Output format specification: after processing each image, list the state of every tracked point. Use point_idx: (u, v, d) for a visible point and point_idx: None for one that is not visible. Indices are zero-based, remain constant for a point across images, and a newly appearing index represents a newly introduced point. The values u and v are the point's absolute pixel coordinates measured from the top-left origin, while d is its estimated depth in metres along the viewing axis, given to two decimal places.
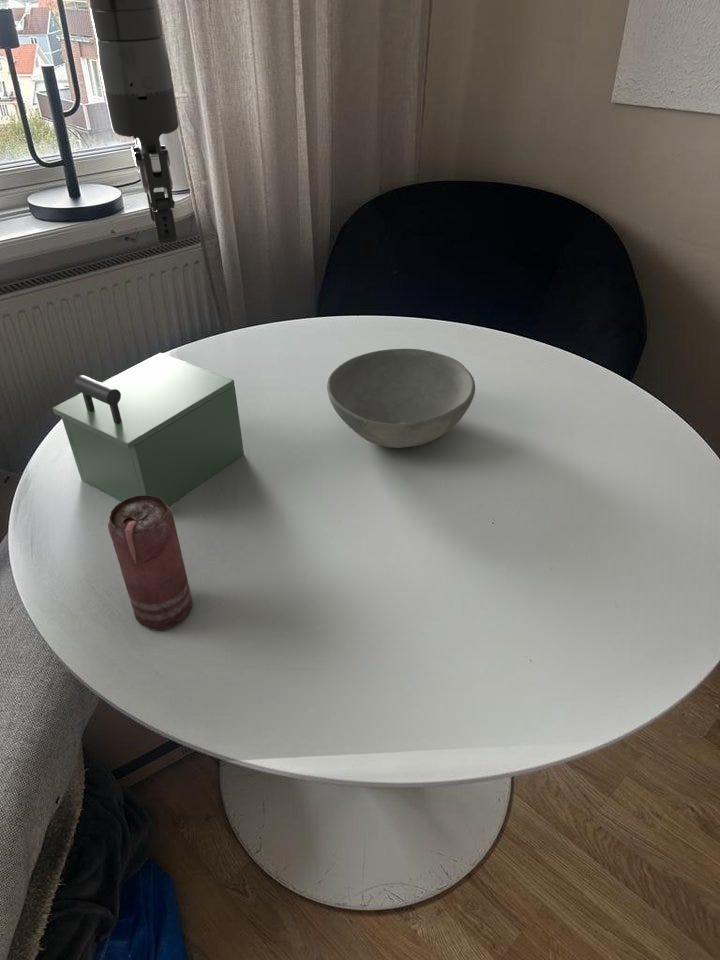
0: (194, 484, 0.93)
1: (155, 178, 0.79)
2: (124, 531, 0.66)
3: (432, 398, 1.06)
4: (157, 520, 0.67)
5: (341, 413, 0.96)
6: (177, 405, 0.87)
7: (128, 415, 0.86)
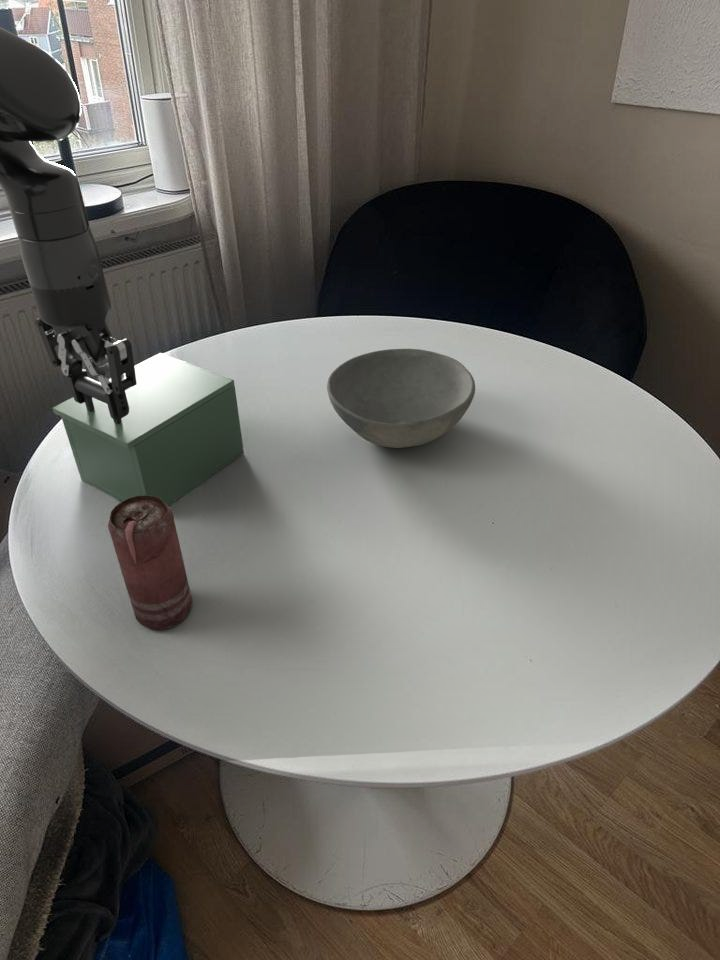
0: (194, 484, 0.93)
1: (122, 366, 0.77)
2: (124, 531, 0.66)
3: (432, 398, 1.06)
4: (157, 520, 0.67)
5: (341, 413, 0.96)
6: (177, 405, 0.87)
7: (128, 415, 0.86)
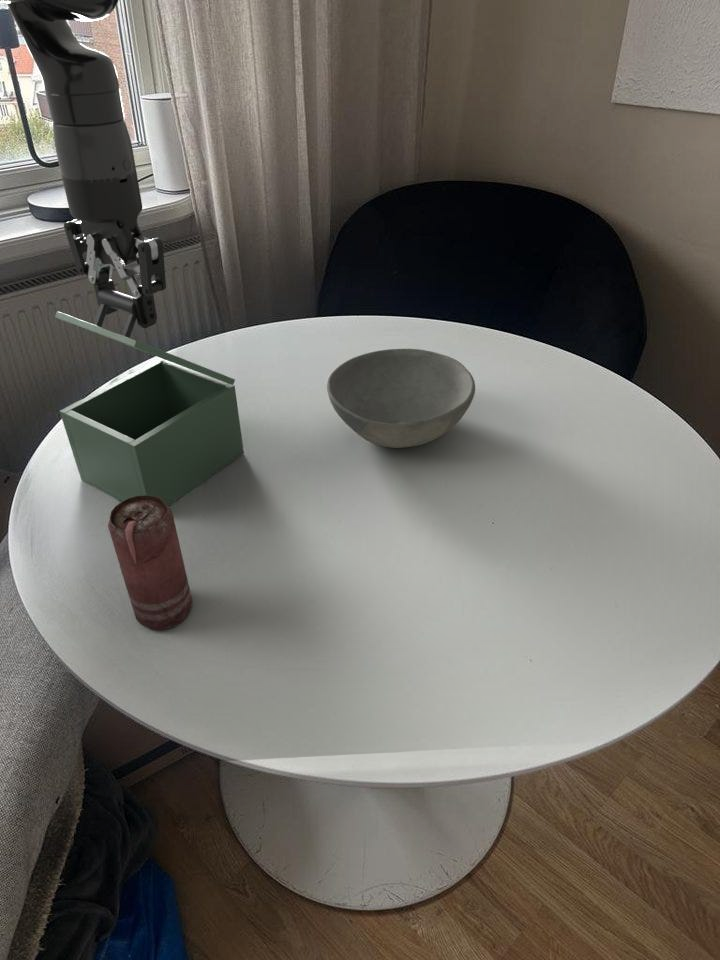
0: (194, 484, 0.93)
1: (153, 266, 0.76)
2: (124, 531, 0.66)
3: (432, 398, 1.06)
4: (157, 520, 0.67)
5: (341, 413, 0.96)
6: None
7: None
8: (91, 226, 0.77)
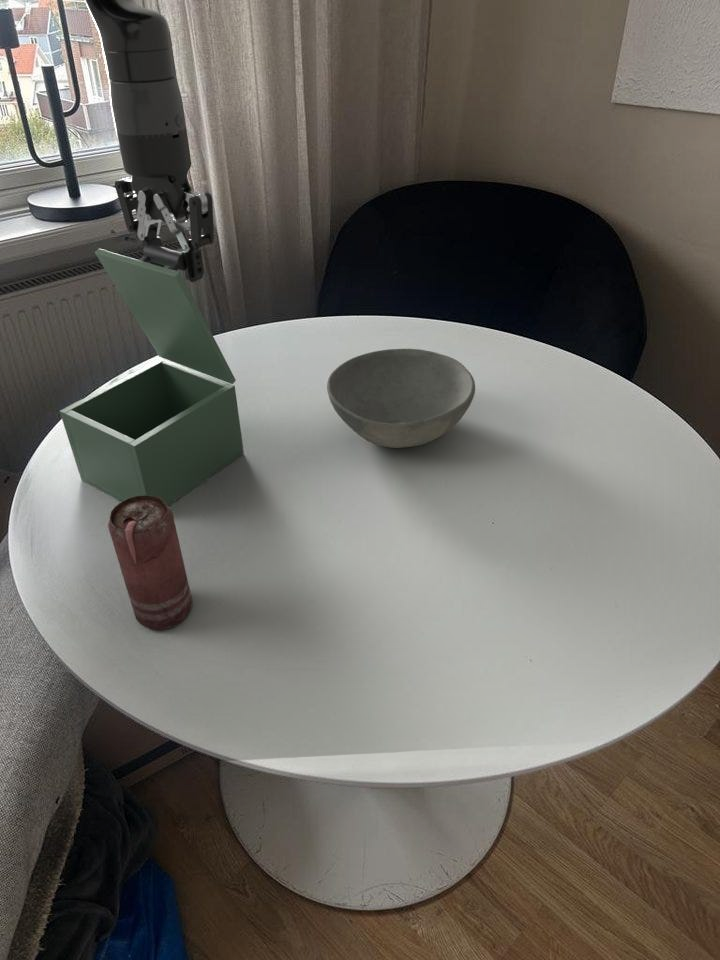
0: (194, 484, 0.93)
1: (203, 219, 0.79)
2: (124, 531, 0.66)
3: (432, 398, 1.06)
4: (157, 520, 0.67)
5: (341, 413, 0.96)
6: None
7: None
8: (142, 183, 0.81)
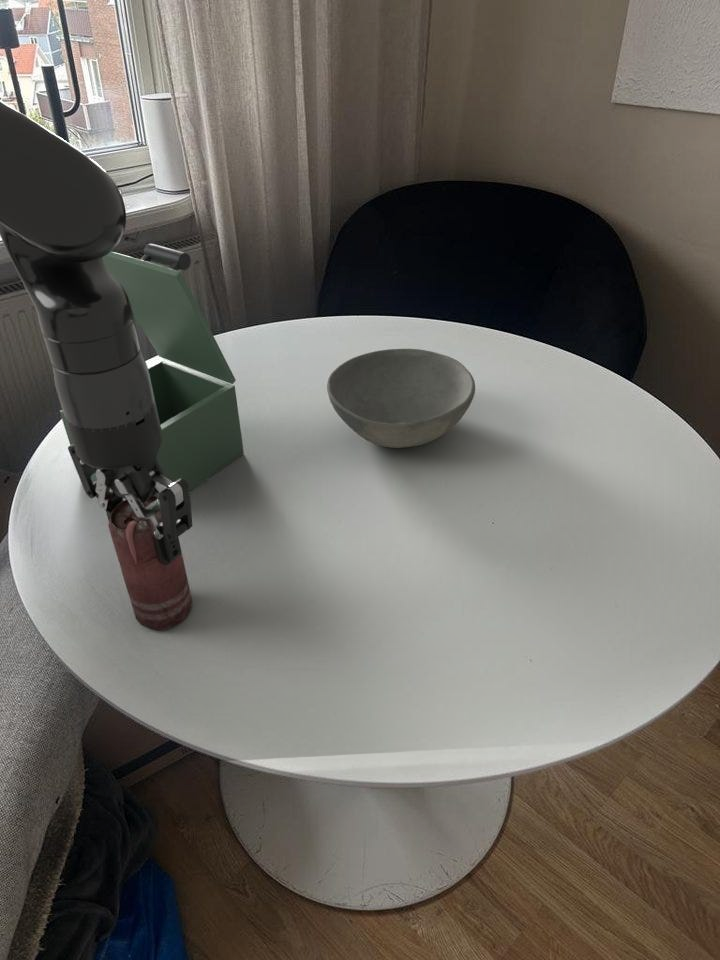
0: (194, 484, 0.93)
1: (177, 511, 0.62)
2: (125, 531, 0.66)
3: (432, 398, 1.06)
4: (158, 520, 0.67)
5: (341, 413, 0.96)
6: None
7: None
8: None
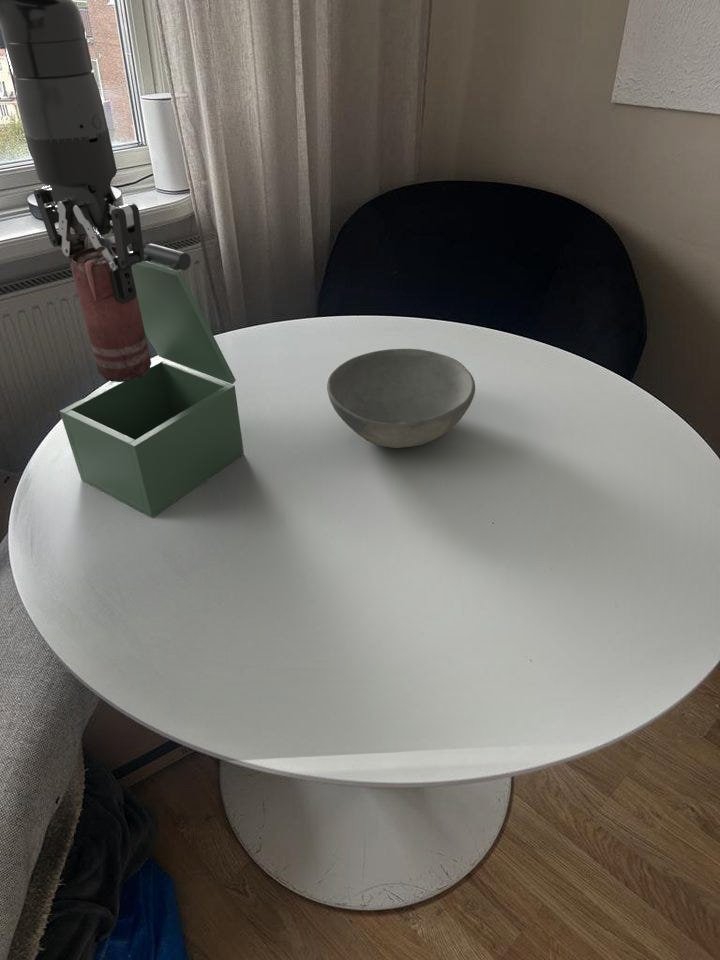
0: (194, 484, 0.93)
1: (129, 234, 0.70)
2: (84, 264, 0.73)
3: (432, 398, 1.06)
4: None
5: (341, 413, 0.96)
6: None
7: None
8: (62, 192, 0.71)
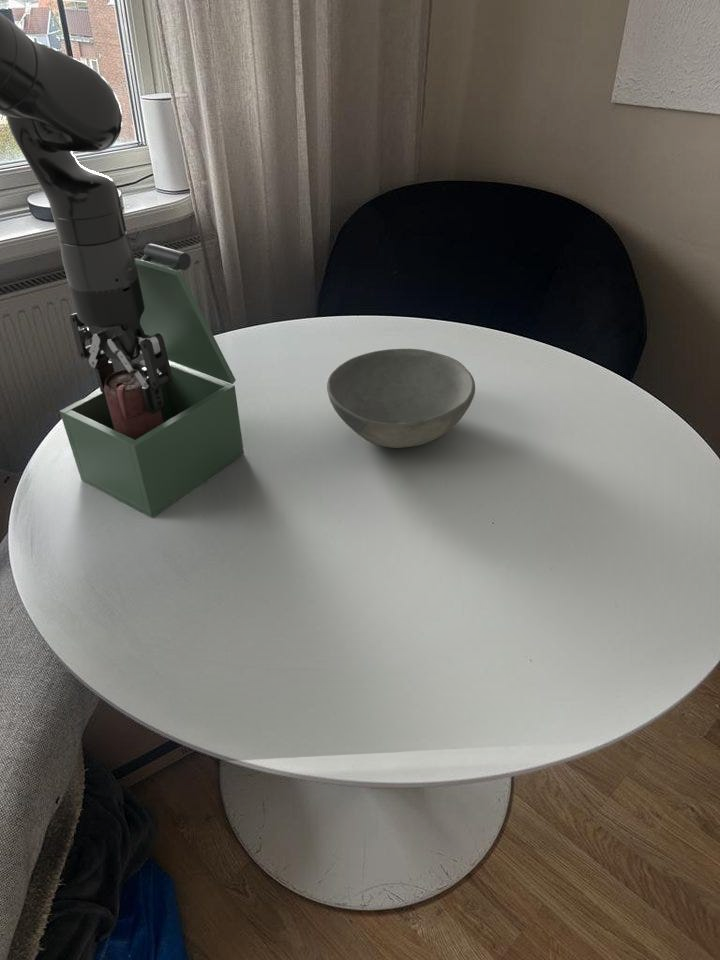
0: (194, 484, 0.93)
1: (157, 359, 0.80)
2: (116, 390, 0.84)
3: (432, 398, 1.06)
4: None
5: (341, 413, 0.96)
6: None
7: None
8: None
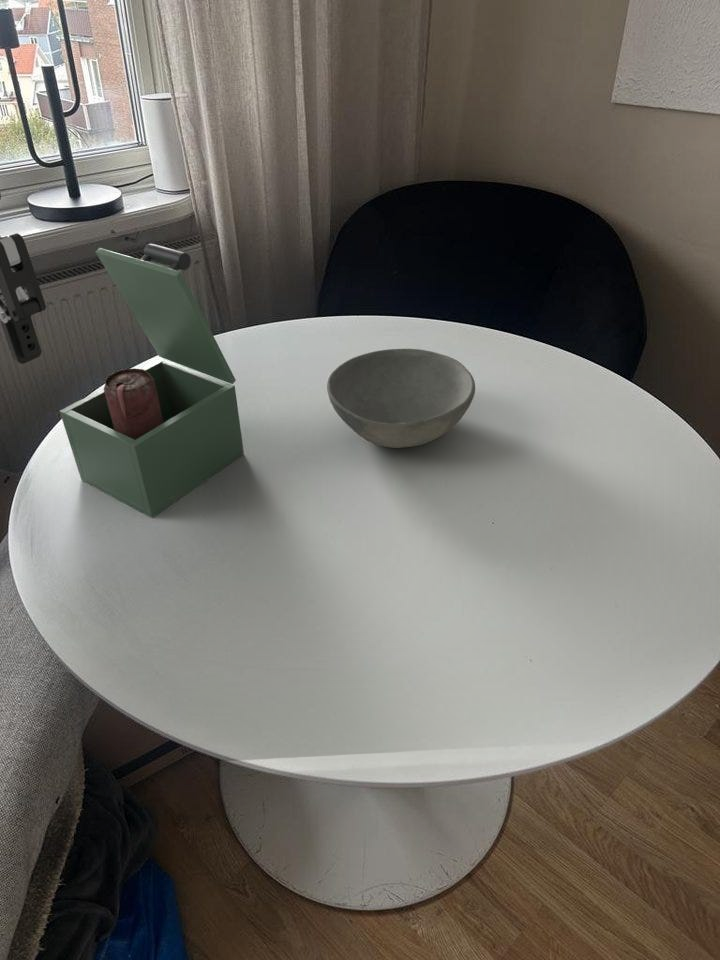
0: (194, 484, 0.93)
1: (15, 274, 0.52)
2: (116, 390, 0.85)
3: (432, 398, 1.06)
4: (142, 384, 0.86)
5: (341, 413, 0.96)
6: None
7: None
8: None
